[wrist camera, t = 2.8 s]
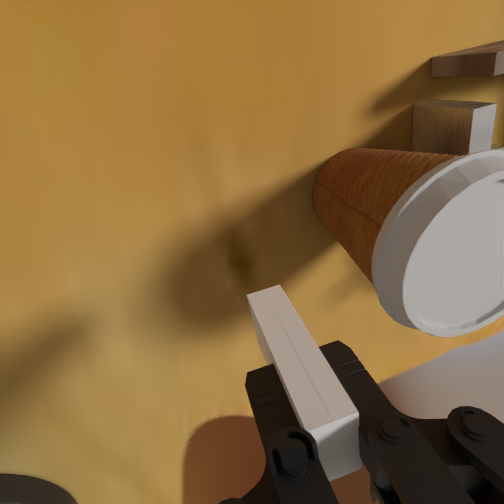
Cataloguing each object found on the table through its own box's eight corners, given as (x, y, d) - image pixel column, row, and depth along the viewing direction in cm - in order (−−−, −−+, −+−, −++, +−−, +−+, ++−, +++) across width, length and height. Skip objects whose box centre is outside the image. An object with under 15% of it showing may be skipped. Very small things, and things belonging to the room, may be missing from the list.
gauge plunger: (408, 238, 30) (501, 294, 22) (413, 104, 24) (538, 115, 17) (467, 219, 31) (576, 267, 23) (484, 85, 25) (633, 88, 18)
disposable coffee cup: (426, 181, 28) (594, 241, 17) (342, 267, 29) (450, 370, 19) (360, 91, 23) (535, 101, 13) (265, 199, 25) (352, 286, 14)
